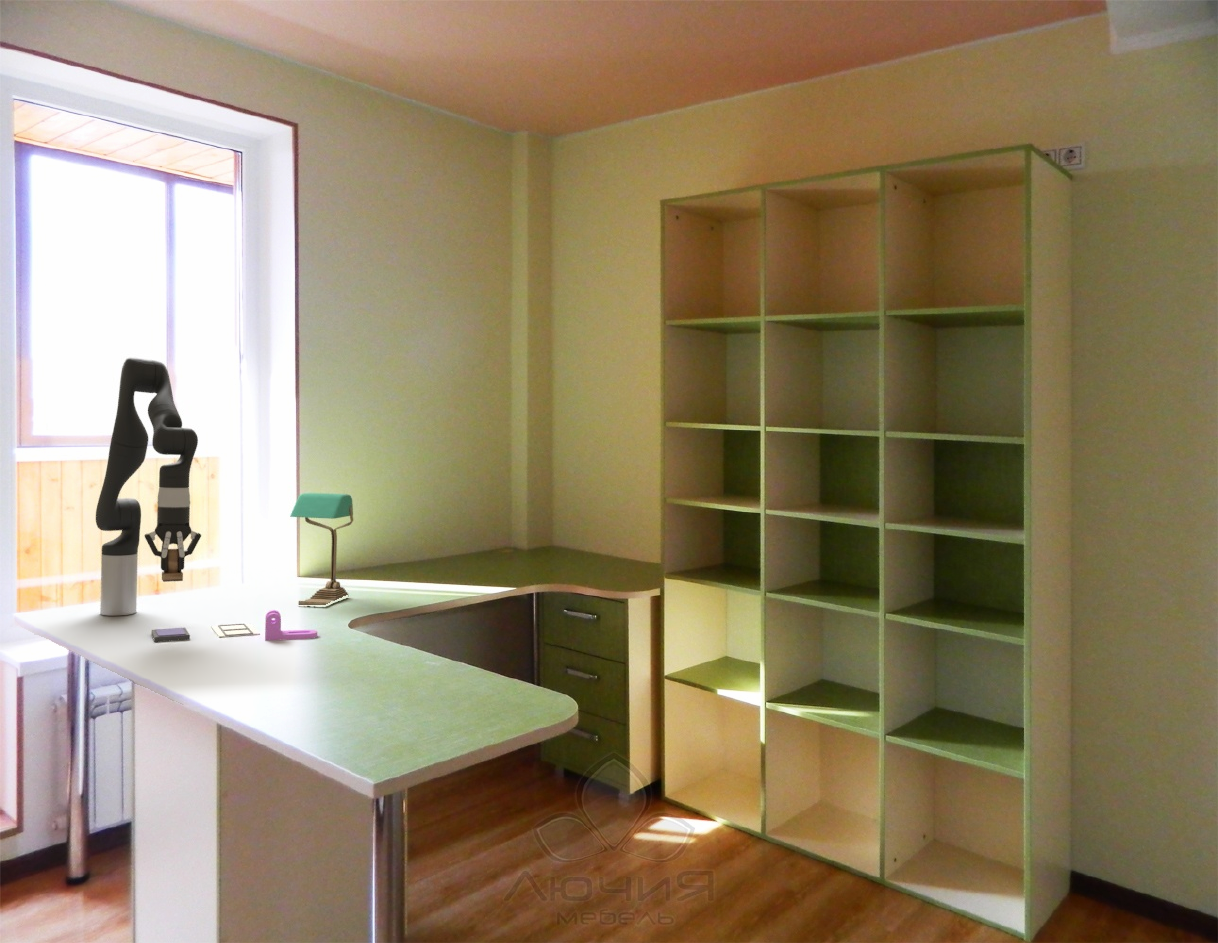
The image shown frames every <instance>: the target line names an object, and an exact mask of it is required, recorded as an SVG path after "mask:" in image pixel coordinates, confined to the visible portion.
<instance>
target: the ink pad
mask: <svg viewBox="0 0 1218 943" xmlns="http://www.w3.org/2000/svg"><path fill="white" fill-rule="evenodd" d="M152 636H153V637H152ZM190 636H191V634H190V633H189V631H188V629H187V628H186V627H172V628H171V627H170V628H159V629H157V628H156V629H155V628H154V629H151V637H152V639H153V638H154V639H153V640H154V643H158V642H157V641H162V642H172V641H171V640H176V641H186V640H187V639H190V640H191V638H190ZM185 639H186V640H185ZM169 640H170V641H169ZM187 641H188V640H187Z"/></svg>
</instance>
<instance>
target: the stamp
mask: <svg viewBox="0 0 1218 943" xmlns="http://www.w3.org/2000/svg"><path fill="white" fill-rule="evenodd" d="M167 558H168V563H167V572H165V573H164V571H161V580H162V582H164V583H165V582H166V583H167V582H183V581H184V572H183V571H182V570H181V572H178V558H179V549H178V548H168V551H167Z"/></svg>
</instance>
